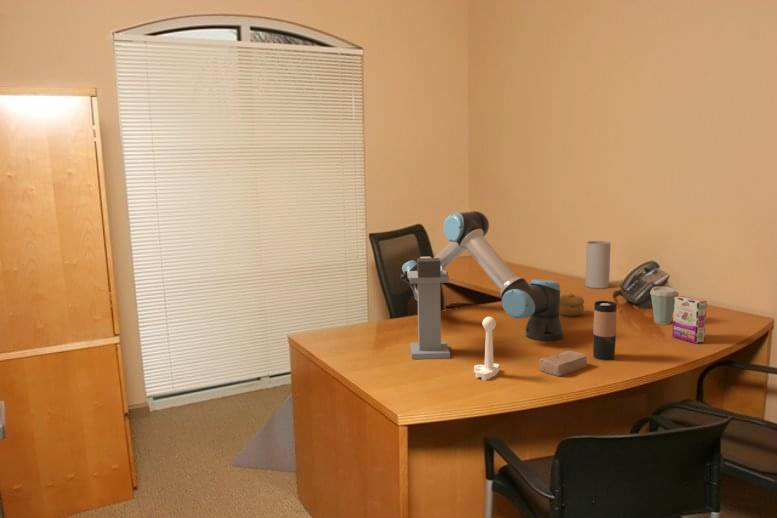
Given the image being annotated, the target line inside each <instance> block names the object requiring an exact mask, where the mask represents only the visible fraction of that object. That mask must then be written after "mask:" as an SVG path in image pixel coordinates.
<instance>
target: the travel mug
mask: <svg viewBox="0 0 777 518" xmlns="http://www.w3.org/2000/svg"><path fill="white" fill-rule="evenodd" d="M593 305H594V307H593V308H594V309H593V334H592V336H593V337H592V338H593V340H592V342H593V343H592V344H593V345H592V346H593V347H592V349H593V353H592V354H593V358H594V359H596V360H601V361H612V360H614V359H615V354H616V342H617V341H616V340H617V339H616V338H617V310H618V309H617V308H618V304H617V303H616V302H614V301H611V300H597V301H595V302H594V304H593Z"/></svg>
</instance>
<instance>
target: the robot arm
mask: <svg viewBox="0 0 777 518" xmlns="http://www.w3.org/2000/svg"><path fill="white" fill-rule="evenodd" d="M489 228H490V222H489V220H488V218H487V216H486V215H485V214H484V213H482V212H481V211H467V212H466V211H465V212H455V213H451V214H449V215H448V216H447V217H446V219H445V220H444V223H443V234H444V237H445V238H446V240H447V241H449V243H448V244H446V245H445V246H444V248H442V249H441V250H440V251H439V252H438V253H437V254H436V255H435V256H434V257H433V258H439V259H440V267H441V270H445V271H446V268H447V267H449V266H450V265H451V264H453V262H454V261H455V260H456V259H458V257H460V256H461V255H462V254H463V253H464V252H465V251H466V250H467V252H468V253H469V254H470V255H471V257H472V258H473V259H474V260H475V261H476V262H477V264H478V265H479V266H480V267H481V268H482V270H483V271H484V272H485V273H486V274H487V276H488V277H489V278H490V279H491V281H492V282H493V283H494V284H495V286H496V287H497V288H498V289H499V291H500V298H501V303H502V308H503V310H504V312H505V313H506V314H507V316H510V317H511V318H513V319H516V320H517V319H518V320H520V319H528V321H527V324H526V326H525V329H524V330H525V331H524V332H525V333H524V336H526V337H527V338H529V339H532V340H534V341H535V340H536V341H543V342H544V341H545V342H546V341H547V342H549V341H557V340H561V339H563V338H564V333H565V332H564V329H563V325H562V322H561V319H560V297H561V286H560V285H561V284H560V283H559V282H558V281H555V280H549V279H542V278H541V279H540V278H538V279H537V278H533V279H530V283H528V282H527V280H526V279H525V278H524V277H518V276H517V274H516V273H515V272H514V271H513V270H512V269H511V268H510V265H508V264H507V263H506V261H505V260H504V259H503V258H502V257H501V255H500V254H499V253H498V252H497V251H496V250H495V249H494V247H493V246H492V245H491V244H490V243H489V242H488V240H487V239H486V238H485V236H486V235H487V233H488V231H489ZM401 270H402V272H400V277H399V279H400V280H401V281H403V282H404V283H406V284H407V285H408V286H410V288H411V291H412V293H413V297H414V299H415V300H416V301H417V302H418V293H417V283H410V279H409V271H417V262H416V261H415V260H413V259H412V260H408V261H407V262H405V263H403V264H402V267H401ZM446 273H447V274H448V275H449V273H448V272H447V271H446Z"/></svg>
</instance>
